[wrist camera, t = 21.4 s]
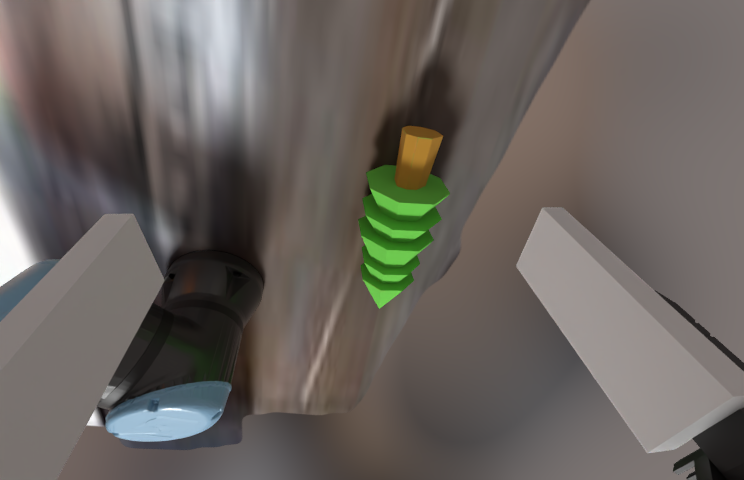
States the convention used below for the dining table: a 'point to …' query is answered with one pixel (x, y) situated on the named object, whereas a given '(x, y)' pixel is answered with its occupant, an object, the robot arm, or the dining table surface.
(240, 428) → the dining table surface
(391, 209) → the decorative tree
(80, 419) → the robot arm
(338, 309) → the dining table surface
